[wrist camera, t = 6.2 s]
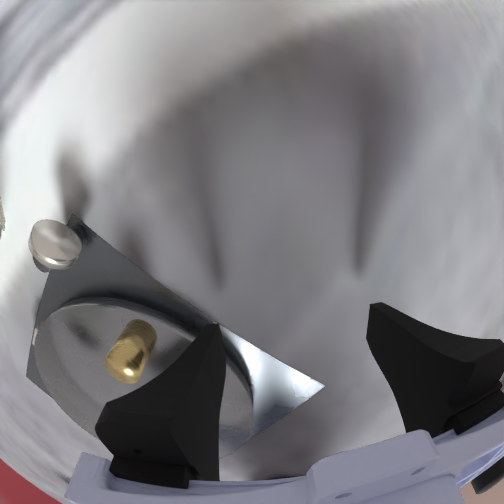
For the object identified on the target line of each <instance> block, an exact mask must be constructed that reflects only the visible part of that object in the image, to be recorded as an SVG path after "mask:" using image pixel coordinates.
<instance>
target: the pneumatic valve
mask: <svg viewBox="0 0 504 504" xmlns="http://www.w3.org/2000/svg"><path fill="white" fill-rule="evenodd" d="M4 224H5V218H4V213H3V208H2V203H1V197H0V228H1V230H2V229H3V231H5V225H4ZM0 239H1V237H0Z"/></svg>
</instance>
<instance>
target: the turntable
mask: <svg viewBox="0 0 504 504" xmlns="http://www.w3.org/2000/svg"><path fill="white" fill-rule="evenodd" d="M198 334H199V332H198V331H196V330H195V329H193V328H191V327H190V326H188V325H186V324H185V323H183V322H181V321H179V320H178V319H175V318H173V317H171V316H169V315H167V314H165V313H163V312H161V311H158V310H155V309H153V308H150V307H147V306H145V305H142V304H138V303H134V302H131V301H127V300H123V299H116V298H109V297H87V298H79V299H76V300H73V301H70V302H67V303H65V304H64V305H62V306H60V307H58V308H57V309H56V310H55V311H54V312H53V313H52V314H51V315H50V316H49V317H48V318H47V319H46V320H45V321H44V320H43V321H42V322H41V323H40V324H39V325H38V326H37V327H36V328H35V332H34V337H33V342H32V344H33V345H34V353H35V360H36V365H37V368H38V371H39V374H40V376H41V378H42V381H43V383H44V385H45V386H46V388H47V390H48V391H49V393H50V395H51V396H52V397H53V399H54V400H55V401H56V403H57V404H58V405H59V406H60V407H61V409H62V410H63V411H64V412H65V413H66V414H67V415H68V416H69V417H70V418H71V419H72V420H73V421H74V422H76V423H77V424H78V425H79V426H80V427H82V428H83V429H84V430H86V431H87V432H88V433H90V434H91V435H93V436H94V437H96V438H98V436H97V434H96V432H95V425H96V423H97V421H98V419H99V416H100V414H101V412H102V410H103V408H104V406H105V404H106V402H109V401H111V400H114V399H116V398H119V397H121V396H124V395H126V394H128V393H130V392H132V391H134V390H136V389H138V388H140V387H141V386H143V385H145V384H146V383H148V382H149V381H151V380H152V379H154V378H155V377H157V376H158V375H159V374H161V373H162V372H163V371H164V370H166V369H167V368H168V367H169V366H170V365H171V364H173V363H174V362H175V361H176V360H177V359H178V358H179V357H180V356H181V354H182V353H183V352H184V351H185V350H186V349H187V348H188V347H189V345H190V344H191V343H192V342H193V341H194V339H195V338H196V337H197V335H198ZM253 422H254V409H253V397H252V394H251V390H250V387H249V385H248V383H247V381H246V379H245V377H244V375H243V374H242V373H241V371H240V370H239V368H238V367H237V365H236V364H235V363H234V362H233V361H232V360H231V359H230V358H229V357H228V356H227V355H226V378H225V384H224V391H223V397H222V403H221V409H220V418H219V459H220V458H223V457H225V456H227V455H229V454H231V453H233V452H234V451H236V450H237V449H239V448H240V447H241V446H242V445H243V444H244V443H245V442H246V440H247V439H248V438H249V436H250V433H251V431H252V428H253ZM98 439H99V438H98ZM99 440H100V439H99Z"/></svg>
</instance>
